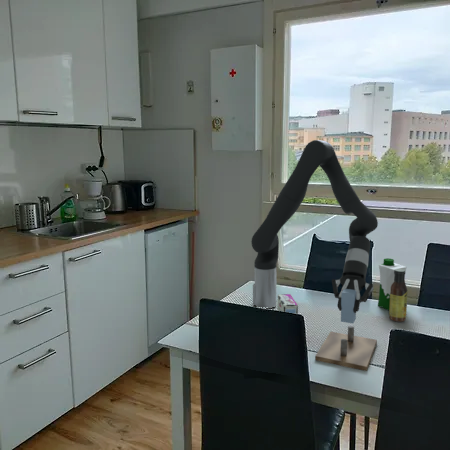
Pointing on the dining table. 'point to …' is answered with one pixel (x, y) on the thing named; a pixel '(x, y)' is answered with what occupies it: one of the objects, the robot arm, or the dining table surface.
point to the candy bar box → (287, 304)
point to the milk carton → (387, 281)
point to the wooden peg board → (347, 350)
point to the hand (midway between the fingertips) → (347, 310)
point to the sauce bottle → (398, 297)
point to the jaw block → (348, 305)
